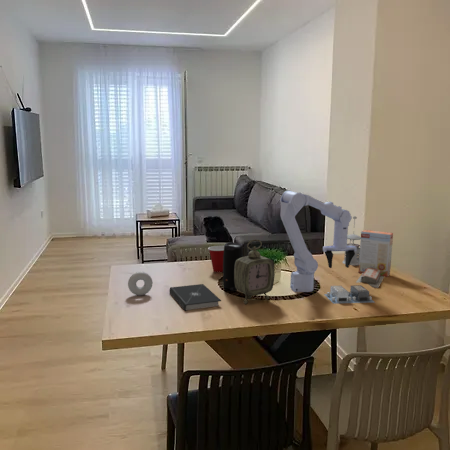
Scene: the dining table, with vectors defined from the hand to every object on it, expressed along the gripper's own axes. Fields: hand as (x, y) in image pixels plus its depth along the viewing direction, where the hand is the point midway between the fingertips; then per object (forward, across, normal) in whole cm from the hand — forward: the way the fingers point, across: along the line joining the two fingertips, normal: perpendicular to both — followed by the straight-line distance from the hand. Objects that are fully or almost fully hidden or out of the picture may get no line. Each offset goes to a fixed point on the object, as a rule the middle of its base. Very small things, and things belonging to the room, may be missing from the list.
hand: (338, 267), depth 206 cm
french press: (+10, +23, +41) cm, 48 cm away
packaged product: (+10, +19, +9) cm, 23 cm away
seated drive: (+8, -6, -16) cm, 19 cm away
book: (+10, -63, -10) cm, 65 cm away
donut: (+10, -85, -3) cm, 86 cm away
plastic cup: (+10, -49, +30) cm, 58 cm away
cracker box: (+10, +26, +20) cm, 34 cm away
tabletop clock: (+10, -40, -12) cm, 43 cm away
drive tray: (+9, -1, -16) cm, 19 cm away
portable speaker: (+10, -46, +3) cm, 47 cm away
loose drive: (+8, +3, -17) cm, 19 cm away
